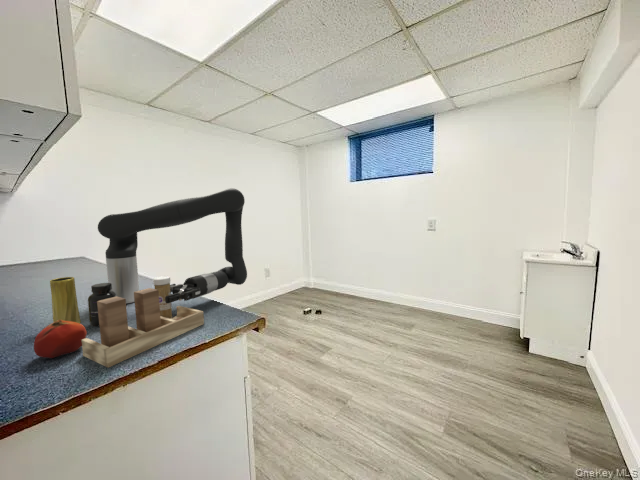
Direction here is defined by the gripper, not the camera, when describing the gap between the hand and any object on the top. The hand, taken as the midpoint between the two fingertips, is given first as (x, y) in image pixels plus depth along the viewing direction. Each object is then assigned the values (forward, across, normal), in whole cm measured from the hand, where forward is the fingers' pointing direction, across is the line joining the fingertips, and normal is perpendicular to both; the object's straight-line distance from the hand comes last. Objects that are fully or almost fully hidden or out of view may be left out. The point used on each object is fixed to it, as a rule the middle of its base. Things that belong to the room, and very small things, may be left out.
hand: (157, 298), depth 81 cm
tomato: (+22, -2, +8) cm, 24 cm away
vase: (+14, -22, +7) cm, 27 cm away
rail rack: (+8, +9, +7) cm, 14 cm away
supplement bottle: (+8, -14, +7) cm, 18 cm away
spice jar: (-2, 0, +7) cm, 8 cm away
